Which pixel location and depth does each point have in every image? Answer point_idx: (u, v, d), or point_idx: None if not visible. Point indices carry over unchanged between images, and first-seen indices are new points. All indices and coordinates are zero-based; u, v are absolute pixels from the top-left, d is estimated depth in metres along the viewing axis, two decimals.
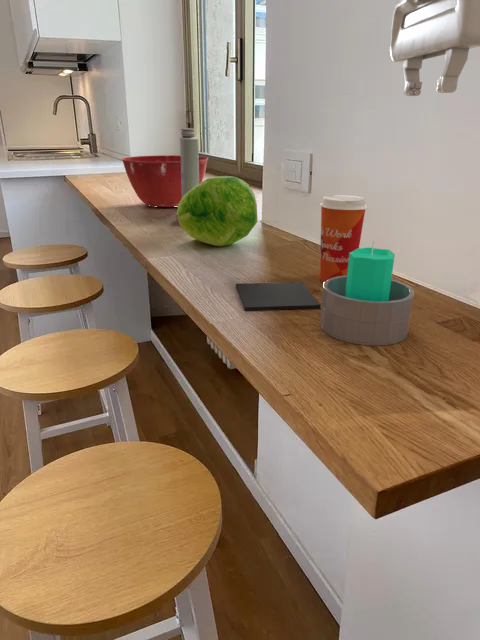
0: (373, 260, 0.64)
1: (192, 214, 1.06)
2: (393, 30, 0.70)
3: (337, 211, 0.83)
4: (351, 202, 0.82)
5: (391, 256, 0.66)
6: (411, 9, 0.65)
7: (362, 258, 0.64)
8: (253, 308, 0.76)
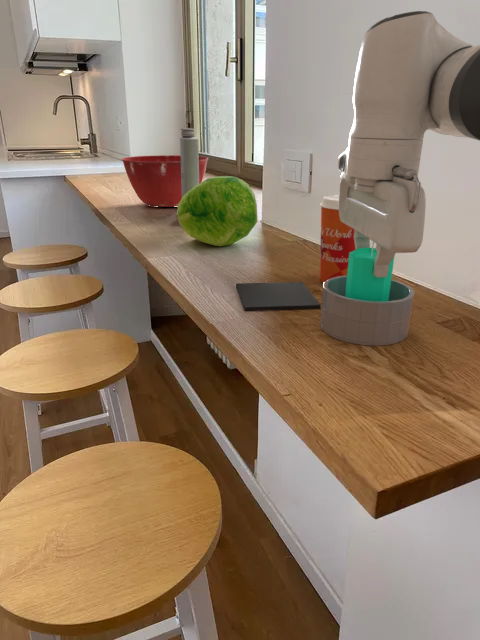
0: (373, 260, 0.64)
1: (192, 214, 1.06)
2: (340, 195, 0.72)
3: (337, 211, 0.83)
4: None
5: None
6: (354, 187, 0.67)
7: (362, 258, 0.64)
8: (253, 308, 0.76)
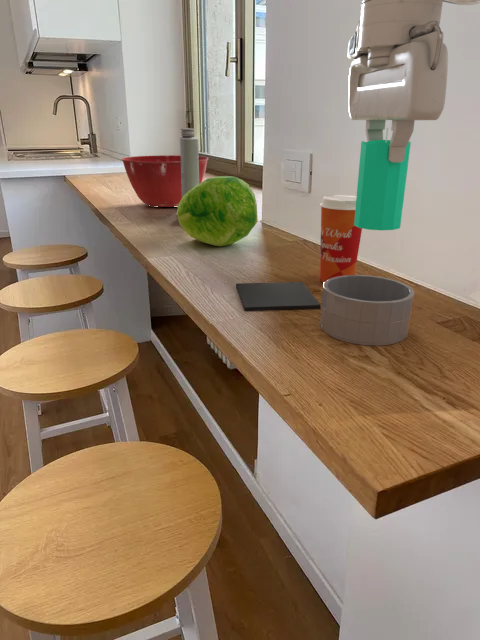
0: (388, 144, 0.58)
1: (192, 214, 1.06)
2: (350, 88, 0.67)
3: (337, 211, 0.83)
4: (351, 202, 0.82)
5: None
6: (365, 70, 0.62)
7: (376, 143, 0.59)
8: (253, 308, 0.76)
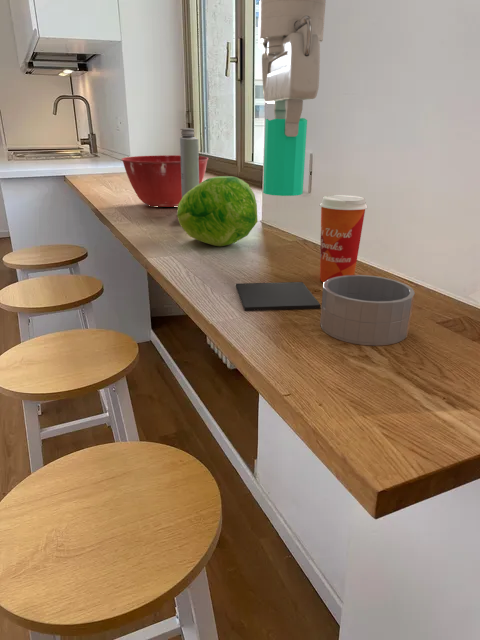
0: (284, 120, 0.69)
1: (192, 214, 1.06)
2: (263, 75, 0.77)
3: (337, 211, 0.83)
4: (351, 202, 0.82)
5: (303, 120, 0.71)
6: (270, 58, 0.72)
7: (274, 119, 0.69)
8: (253, 308, 0.76)
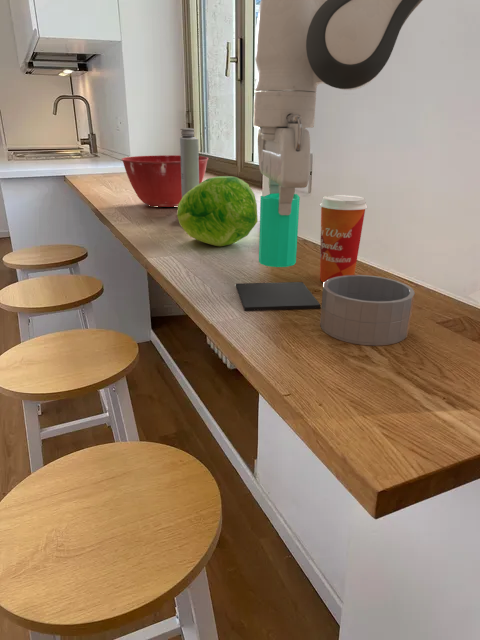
0: (278, 200, 0.73)
1: (192, 214, 1.06)
2: (258, 149, 0.81)
3: (337, 211, 0.83)
4: (351, 202, 0.82)
5: (296, 198, 0.75)
6: (265, 138, 0.77)
7: (269, 199, 0.74)
8: (253, 308, 0.76)
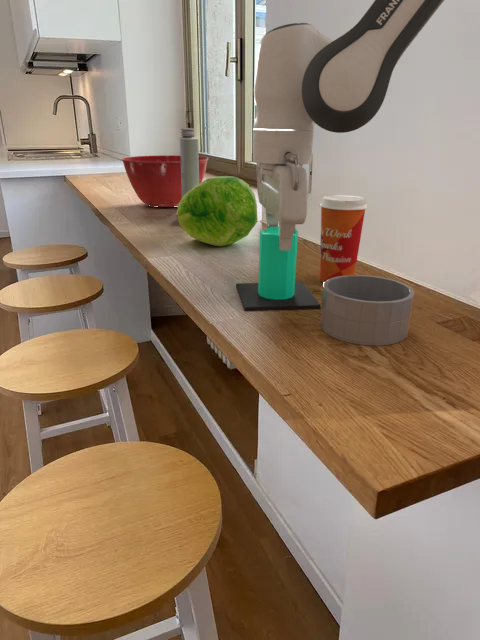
0: (277, 236, 0.75)
1: (192, 214, 1.06)
2: (257, 180, 0.83)
3: (337, 211, 0.83)
4: (351, 202, 0.82)
5: (295, 233, 0.77)
6: None
7: (268, 234, 0.76)
8: (253, 308, 0.76)
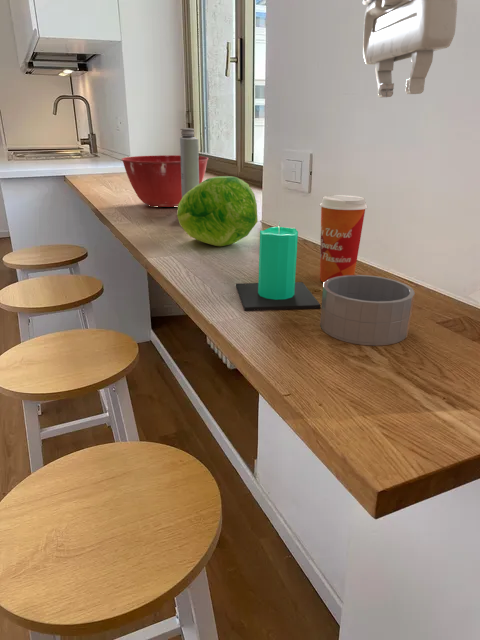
0: (277, 236, 0.75)
1: (192, 214, 1.06)
2: (365, 34, 0.72)
3: (337, 211, 0.83)
4: (351, 202, 0.82)
5: (294, 233, 0.77)
6: (380, 13, 0.67)
7: (268, 234, 0.76)
8: (253, 308, 0.76)
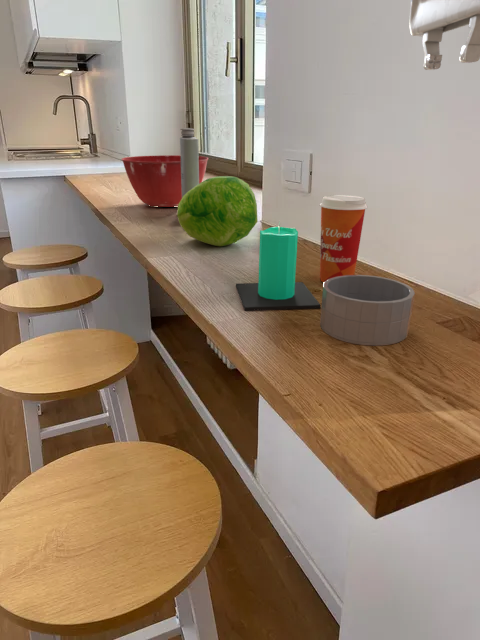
0: (277, 236, 0.75)
1: (192, 214, 1.06)
2: (413, 3, 0.69)
3: (337, 211, 0.83)
4: (351, 202, 0.82)
5: (295, 233, 0.77)
6: None
7: (268, 234, 0.76)
8: (253, 308, 0.76)
